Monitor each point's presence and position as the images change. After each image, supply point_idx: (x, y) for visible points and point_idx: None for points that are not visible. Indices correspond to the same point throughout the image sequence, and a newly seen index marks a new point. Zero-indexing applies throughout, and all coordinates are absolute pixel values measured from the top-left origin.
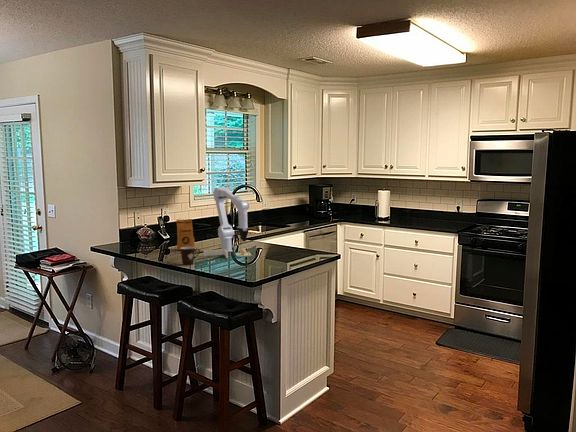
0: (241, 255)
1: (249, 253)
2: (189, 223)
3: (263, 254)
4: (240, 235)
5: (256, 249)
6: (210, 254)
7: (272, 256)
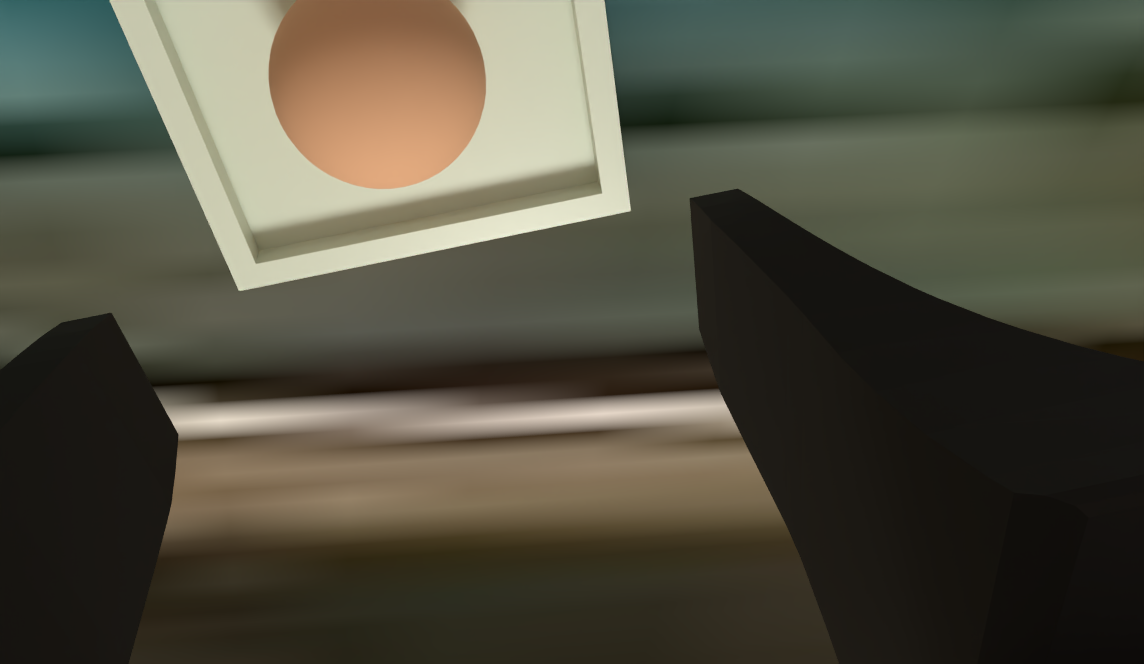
0: (112, 5)
1: (430, 232)
2: None
3: (458, 490)
4: (772, 298)
5: (1108, 325)
6: None
7: (227, 636)
